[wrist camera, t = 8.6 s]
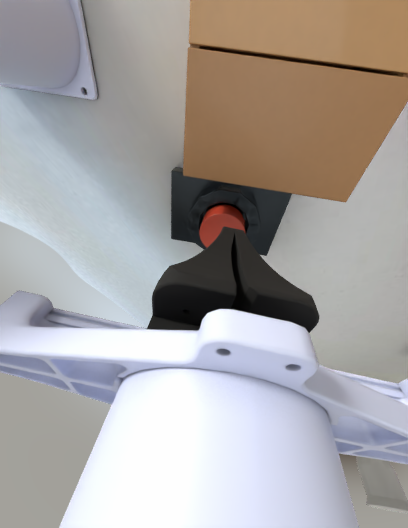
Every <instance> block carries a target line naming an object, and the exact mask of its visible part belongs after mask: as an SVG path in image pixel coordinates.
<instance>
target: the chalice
mask: <svg viewBox="0 0 408 528" xmlns="http://www.w3.org/2000/svg"><path fill="white" fill-rule="evenodd" d="M356 457H357V467H358V470H359V473H360V476H361V480H362V483H363V485H364V489H365V492H366V495H367V505H368V506H371V507H375V508H379V509H384V510H389V511H395V512H401V513H408V500H407V498H406V496H405V493H404V491H403V489H402V487H401V484H400V482H399V479H398V477H397V474H396V472H395V470H394V468H393V467H392V465H391V464H390V462H389V461H385V460H379V459H373V458H367V457H360V456H356Z"/></svg>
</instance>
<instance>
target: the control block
mask: <svg viewBox="0 0 408 528" xmlns="http://www.w3.org/2000/svg"><path fill="white" fill-rule="evenodd" d="M291 195H292V193H286V192H280V191H274V190H268V189H262V188H256V187H250V186H244V185H237V184H231V183H225V182H219V181H213V180H207V179H201V178H195V177H189V176H183V168H177V167H175V168H174V169H173V170H172V197H171V238H172V239H176V240H181V241H187V242H193V243H196V244H197V245H198V246H200V247H201V248H203V249H204V250H205V249H206V248H207V247H206V246H205V245H204V244H203V243H202V241H201V239H200V234H199V230H200V226H201V223H202V220H203V217H204V215H205V214H206V212H207V211H208V210H209V209H211V208H212V207H214V206H217V205H229V206H232V207H234V208H236V209H237V210H239V211H240V213H241V214H242V215H243V217H244V221H245V234H246V236H247V238H248V239H249V241H250V243H251V244H252V246H253V247H254V249H255V250H256V251H257V253H258V254H260V255H265V256H266V255H267V253H268V251H269V248H270V246H271V243H272V241H273V239H274V236H275V234H276V231H277V229H278V226H279V224H280V222H281V219H282V217H283V214H284V212H285V210H286V207H287V205H288V202H289V200H290V197H291Z"/></svg>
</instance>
